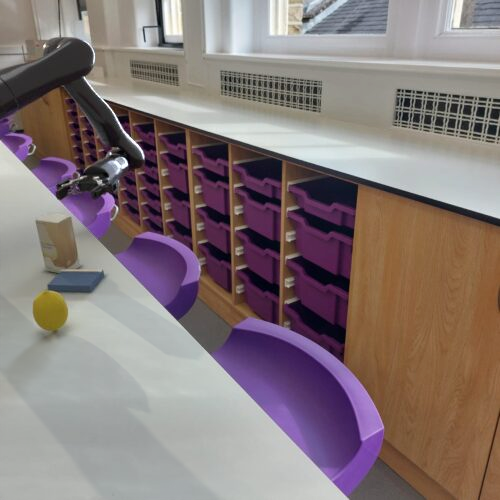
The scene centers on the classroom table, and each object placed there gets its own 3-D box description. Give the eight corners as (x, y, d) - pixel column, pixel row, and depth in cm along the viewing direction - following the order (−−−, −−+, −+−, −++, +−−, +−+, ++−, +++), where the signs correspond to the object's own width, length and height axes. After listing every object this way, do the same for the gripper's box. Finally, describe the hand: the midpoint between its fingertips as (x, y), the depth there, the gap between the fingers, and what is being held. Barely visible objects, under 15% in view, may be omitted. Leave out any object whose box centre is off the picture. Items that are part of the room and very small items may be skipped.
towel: (48, 291, 98) (46, 283, 98) (64, 275, 105) (62, 267, 104) (90, 292, 97) (89, 284, 96) (104, 275, 103) (103, 268, 103)
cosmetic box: (45, 271, 107) (32, 219, 101) (58, 263, 110) (47, 212, 105) (69, 275, 104) (57, 222, 99) (82, 266, 108) (71, 214, 103)
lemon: (71, 336, 83) (62, 295, 80) (37, 342, 82) (26, 301, 79) (72, 319, 88) (63, 280, 85) (40, 325, 87) (29, 286, 84)
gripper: (74, 161, 126) (42, 180, 111) (127, 160, 124) (101, 179, 109) (80, 189, 129) (50, 211, 114) (131, 188, 127) (107, 211, 112)
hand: (75, 195), depth 112 cm, fingers open, 8 cm apart
